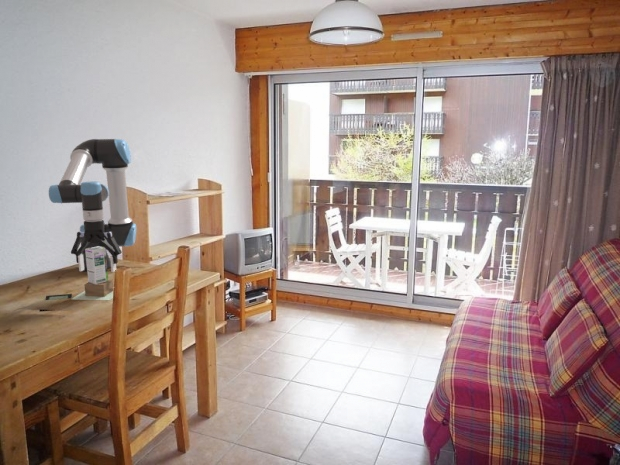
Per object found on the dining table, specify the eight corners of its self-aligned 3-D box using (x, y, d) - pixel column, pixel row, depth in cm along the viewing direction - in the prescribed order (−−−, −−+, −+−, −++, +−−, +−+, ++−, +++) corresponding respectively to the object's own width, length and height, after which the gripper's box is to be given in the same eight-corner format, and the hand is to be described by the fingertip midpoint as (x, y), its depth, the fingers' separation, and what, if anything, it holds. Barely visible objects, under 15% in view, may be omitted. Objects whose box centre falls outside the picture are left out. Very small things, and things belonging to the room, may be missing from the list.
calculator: (39, 312, 183) (38, 304, 182) (47, 302, 194) (46, 295, 193) (66, 310, 185) (65, 302, 185) (72, 300, 196) (71, 293, 196)
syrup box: (95, 284, 195) (92, 250, 192) (87, 282, 198) (84, 248, 195) (108, 281, 199) (105, 247, 196) (100, 279, 203) (98, 245, 200)
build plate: (91, 290, 208) (90, 287, 208) (127, 291, 207) (126, 288, 207) (70, 302, 193) (70, 299, 192) (109, 303, 192) (109, 300, 191)
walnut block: (95, 290, 204) (94, 278, 203) (113, 290, 203) (112, 279, 202) (85, 296, 196) (84, 284, 195) (104, 296, 196) (103, 285, 195)
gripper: (58, 221, 191) (63, 272, 195) (119, 222, 189) (123, 273, 193) (68, 218, 198) (73, 267, 202) (127, 219, 197) (131, 269, 201)
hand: (97, 270), depth 198 cm, fingers open, 13 cm apart
